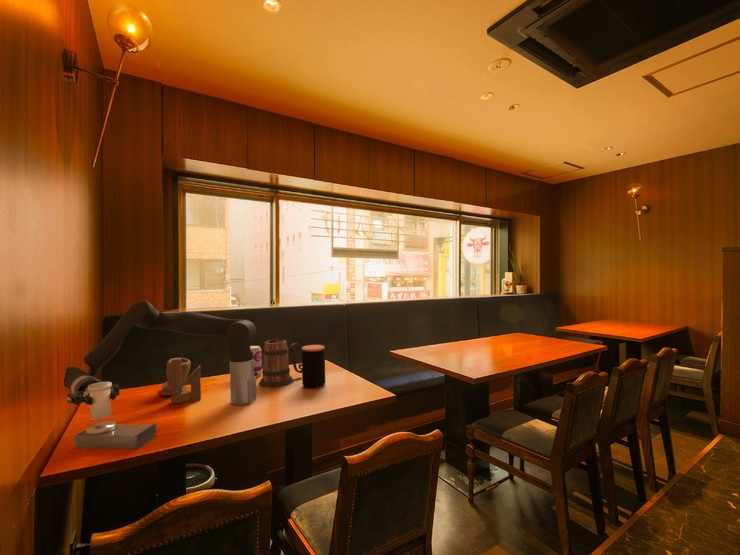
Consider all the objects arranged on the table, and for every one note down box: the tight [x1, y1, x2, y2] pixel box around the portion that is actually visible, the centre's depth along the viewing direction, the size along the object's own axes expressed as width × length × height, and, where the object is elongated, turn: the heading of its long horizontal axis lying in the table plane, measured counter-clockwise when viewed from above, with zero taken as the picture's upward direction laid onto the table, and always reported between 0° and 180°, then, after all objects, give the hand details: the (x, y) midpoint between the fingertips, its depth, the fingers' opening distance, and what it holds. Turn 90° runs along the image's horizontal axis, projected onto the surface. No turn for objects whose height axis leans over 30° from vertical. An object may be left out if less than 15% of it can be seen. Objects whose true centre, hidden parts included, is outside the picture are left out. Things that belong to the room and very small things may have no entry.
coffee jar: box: [301, 344, 326, 390], centre depth 164 cm, size 11×11×18 cm
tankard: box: [258, 339, 302, 389], centre depth 172 cm, size 24×17×20 cm
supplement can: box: [250, 345, 263, 378], centre depth 181 cm, size 8×8×15 cm
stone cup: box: [160, 357, 192, 396], centre depth 159 cm, size 15×12×15 cm
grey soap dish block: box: [74, 420, 157, 450], centre depth 111 cm, size 20×8×5 cm, turn 86°
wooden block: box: [170, 357, 202, 405], centre depth 146 cm, size 4×11×18 cm, turn 114°
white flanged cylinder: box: [88, 381, 113, 421], centre depth 111 cm, size 6×6×10 cm
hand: (102, 398), depth 109 cm, fingers closed on white flanged cylinder, 5 cm apart
